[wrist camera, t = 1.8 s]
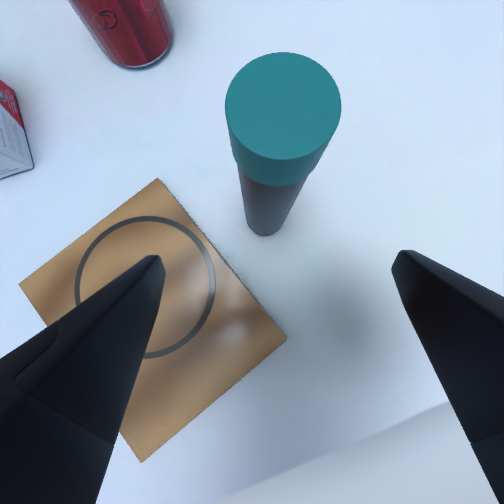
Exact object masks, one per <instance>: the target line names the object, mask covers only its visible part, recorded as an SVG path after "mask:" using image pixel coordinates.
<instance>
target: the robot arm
mask: <svg viewBox="0 0 504 504" xmlns="http://www.w3.org/2000/svg"><path fill="white" fill-rule="evenodd" d="M391 271H392V275H393V277H394V280H395V283H396V286H397V289H398V292H399V294H400V297H401V300H402V303H403V305H404V308H405V310H406V312H407V314H408V316H409V319H410V321H411V323H412V325H413V327H414V329H415V331H416V333H417V335H418V337H419V339H420V341H421V343H422V345H423V347H424V349H425V351H426V354H427V356H428V358H429V360H430V362H431V364H432V366H433V368H434V370H435V372H436V374H437V376H438V378H439V380H440V382H441V384H442V386H443V388H444V391H445V393H446V395H447V397H448V399H449V401H450V403H451V405H452V407H453V409H454V411H455V413H456V415H457V417H458V419H459V421H460V423H461V425H462V427H463V430H464V431H465V434H466V436H467V438H468V440H469V442H471V446H472V449H473V451H474V453H475V455H476V457H477V459H478V461H479V463H480V465H481V466H482V469H483V471H484V473H485V475H486V477H487V479H488V481H489V483H490V486H491V488H492V489H493V492H494V493H495V496H496V498H497V500H498V502H499V504H504V297H503V296H501V295H499V294H497V293H495V292H493V291H491V290H489V289H487V288H486V287H484V286H482V285H480V284H478V283H476V282H474V281H472V280H470V279H468V278H466V277H464V276H462V275H460V274H458V273H457V272H455V271H453V270H451V269H449V268H447V267H445V266H443V265H441V264H439V263H437V262H435V261H433V260H431V259H429V258H428V257H426V256H424V255H422V254H420V253H418V252H416V251H414V250H401V251H400V252H399V253H398V255H397V257H396V259H395V261H394V263H393V265H392V268H391ZM165 277H166V271H165V268H164V265H163V262H162V259H161V257H160V256H159V255H147V256H145V257H144V258H143V259H141V260H140V261H138V262H137V263H136V264H134V265H133V266H131V267H130V268H129V269H127V270H126V271H125V272H123V273H122V274H120V275H119V276H118V277H116V278H115V279H113V280H112V281H111V282H109V283H108V284H106V285H105V286H104V287H102V288H101V289H100V290H98V291H97V292H95V293H94V294H93V295H91V296H90V297H88V298H87V299H86V300H84V301H83V302H81V303H80V304H79V305H77V306H76V307H75V308H73V309H72V310H70V311H69V312H68V313H66V314H65V315H63V316H62V317H61V318H60V319H59V320H56V321H55V322H54V323H52V324H51V325H49V326H48V327H47V328H45V329H44V330H42V331H41V332H40V333H38V334H37V335H35V336H34V337H32V338H31V339H29V340H28V341H27V342H25V343H24V344H22V345H21V346H19V347H18V348H16V349H15V350H13V351H11V352H10V353H8V354H7V355H5V356H4V357H2V358H1V359H0V504H95V503H96V500H97V497H98V494H99V491H100V488H101V485H102V482H103V479H104V476H105V473H106V470H107V467H108V464H109V461H110V458H111V455H112V452H113V448H114V444H115V442H116V439H117V436H118V433H119V430H120V427H121V424H122V421H123V418H124V415H125V412H126V409H127V405H128V402H129V399H130V396H131V393H132V390H133V387H134V384H135V381H136V378H137V375H138V372H139V369H140V366H141V363H142V360H143V357H144V354H145V351H146V348H147V345H148V342H149V339H150V336H151V333H152V330H153V327H154V324H155V321H156V318H157V314H158V311H159V307H160V302H161V297H162V292H163V287H164V282H165Z"/></svg>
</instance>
